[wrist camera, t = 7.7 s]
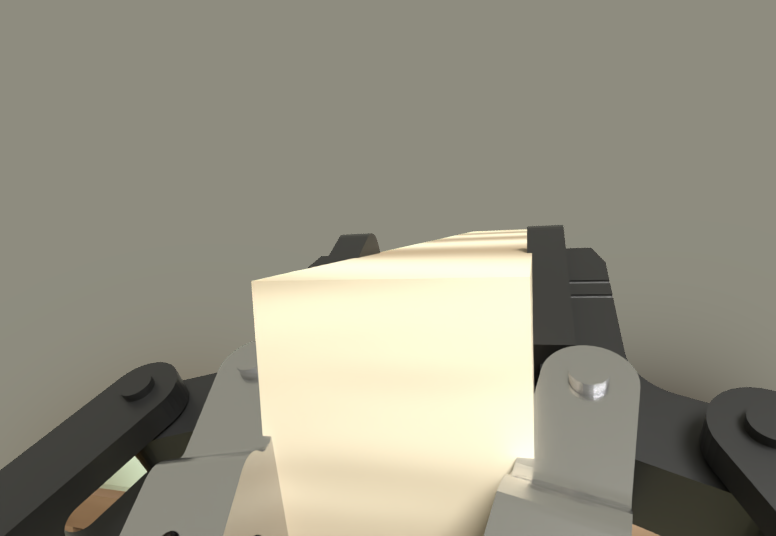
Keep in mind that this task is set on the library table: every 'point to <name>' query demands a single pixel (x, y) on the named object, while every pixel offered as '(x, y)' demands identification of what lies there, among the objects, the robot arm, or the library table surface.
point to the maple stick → (399, 385)
